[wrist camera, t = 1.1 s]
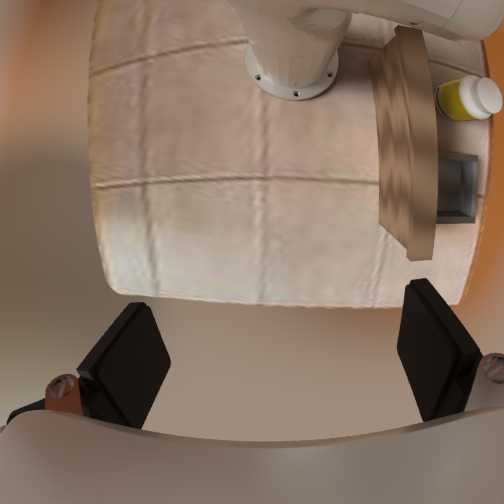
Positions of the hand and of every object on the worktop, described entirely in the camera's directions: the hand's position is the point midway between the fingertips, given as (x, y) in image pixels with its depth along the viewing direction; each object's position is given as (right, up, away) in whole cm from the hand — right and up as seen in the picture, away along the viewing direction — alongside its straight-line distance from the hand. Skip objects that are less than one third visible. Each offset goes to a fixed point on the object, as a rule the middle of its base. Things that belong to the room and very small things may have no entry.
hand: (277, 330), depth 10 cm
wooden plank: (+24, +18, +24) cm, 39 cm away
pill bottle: (+29, +25, +21) cm, 44 cm away
